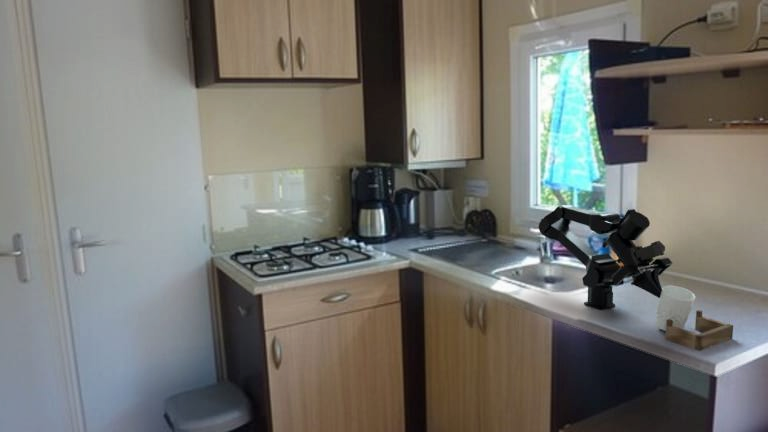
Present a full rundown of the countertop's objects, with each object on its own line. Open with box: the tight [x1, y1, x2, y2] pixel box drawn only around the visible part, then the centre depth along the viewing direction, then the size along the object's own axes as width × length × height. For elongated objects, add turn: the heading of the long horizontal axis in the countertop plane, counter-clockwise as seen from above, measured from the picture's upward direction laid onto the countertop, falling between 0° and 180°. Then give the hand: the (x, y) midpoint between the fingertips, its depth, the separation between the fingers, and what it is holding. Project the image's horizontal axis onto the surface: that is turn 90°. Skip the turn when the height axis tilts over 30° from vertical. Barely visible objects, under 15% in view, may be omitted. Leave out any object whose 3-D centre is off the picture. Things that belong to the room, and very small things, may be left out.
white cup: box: [654, 285, 696, 332], centre depth 153 cm, size 8×8×10 cm
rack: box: [664, 309, 734, 352], centre depth 147 cm, size 9×13×5 cm
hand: (662, 297), depth 155 cm, fingers closed, pressing on white cup
